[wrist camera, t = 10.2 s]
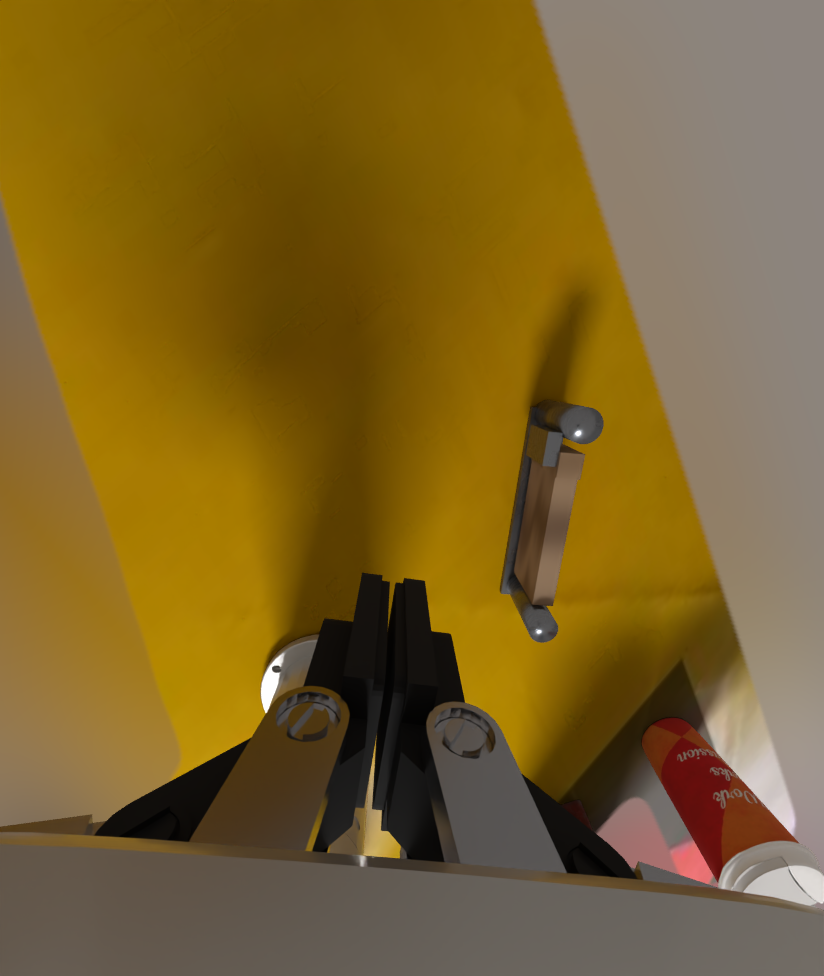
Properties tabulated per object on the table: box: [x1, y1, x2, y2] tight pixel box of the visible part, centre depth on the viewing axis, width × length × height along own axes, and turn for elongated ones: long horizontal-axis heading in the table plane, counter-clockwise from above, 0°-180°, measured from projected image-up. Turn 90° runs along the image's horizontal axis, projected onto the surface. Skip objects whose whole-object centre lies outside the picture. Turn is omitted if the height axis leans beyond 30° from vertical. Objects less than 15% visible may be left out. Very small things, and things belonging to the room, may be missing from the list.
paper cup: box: [642, 718, 824, 907], centre depth 38 cm, size 8×8×14 cm
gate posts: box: [500, 400, 603, 642], centre depth 33 cm, size 18×4×8 cm, turn 175°
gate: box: [514, 444, 585, 606], centre depth 33 cm, size 12×2×6 cm, turn 175°
